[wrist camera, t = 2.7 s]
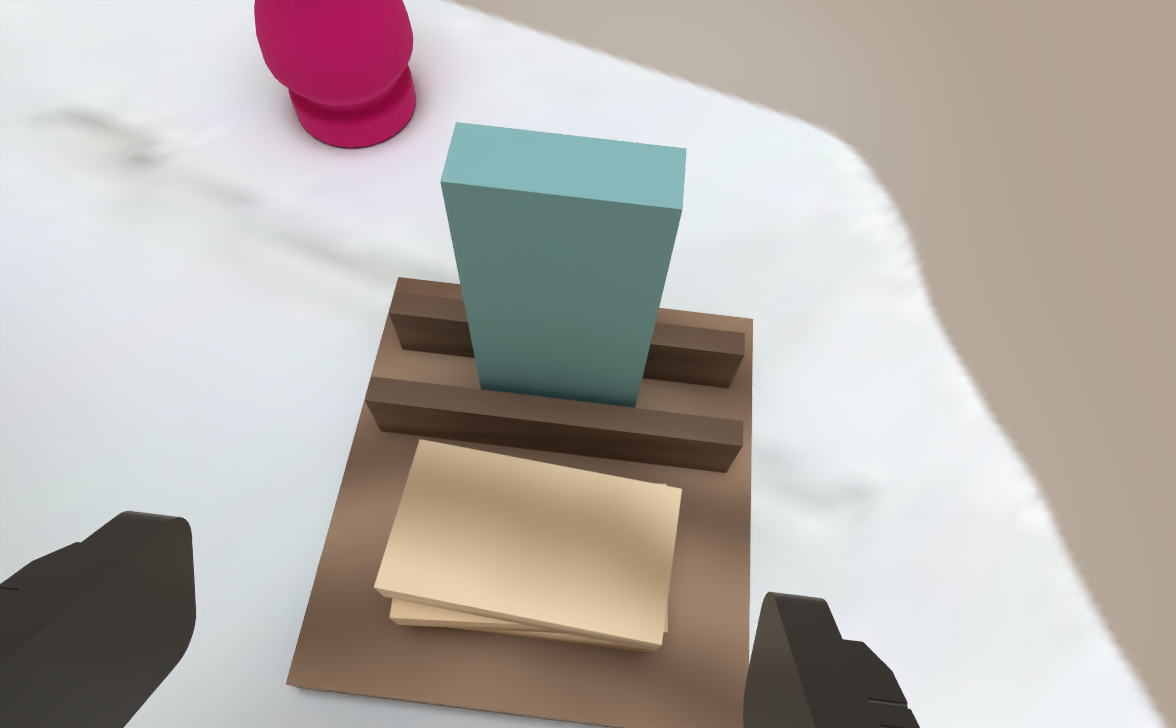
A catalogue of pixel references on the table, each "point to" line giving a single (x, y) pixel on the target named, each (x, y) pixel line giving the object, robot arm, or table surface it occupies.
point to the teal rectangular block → (561, 256)
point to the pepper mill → (341, 65)
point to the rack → (566, 438)
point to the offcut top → (533, 544)
